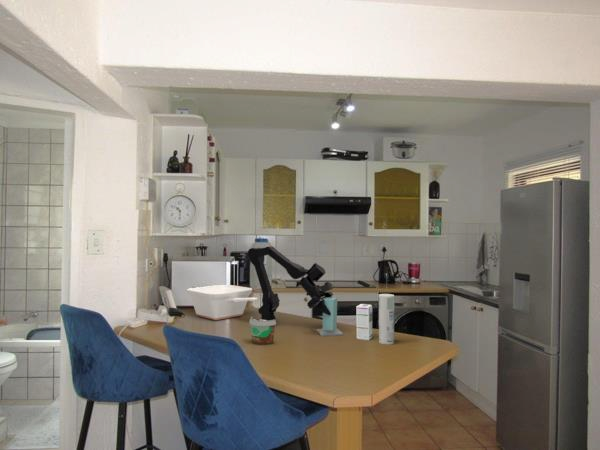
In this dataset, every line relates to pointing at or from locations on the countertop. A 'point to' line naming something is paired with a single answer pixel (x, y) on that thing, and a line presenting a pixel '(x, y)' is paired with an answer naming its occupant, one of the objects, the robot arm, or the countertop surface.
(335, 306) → the block
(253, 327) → the food container
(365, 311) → the syrup box
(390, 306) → the spray can
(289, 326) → the countertop surface
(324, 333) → the coaster
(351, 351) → the countertop surface
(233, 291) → the pot
